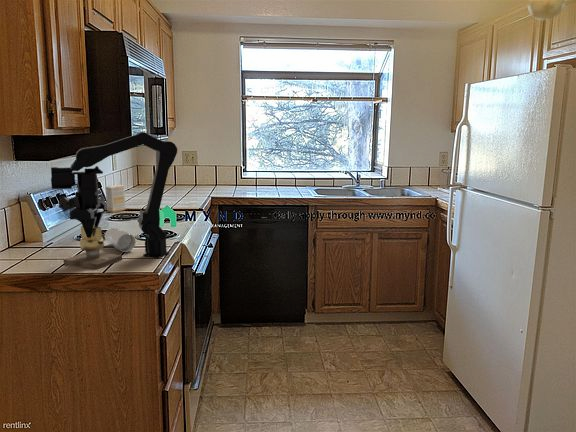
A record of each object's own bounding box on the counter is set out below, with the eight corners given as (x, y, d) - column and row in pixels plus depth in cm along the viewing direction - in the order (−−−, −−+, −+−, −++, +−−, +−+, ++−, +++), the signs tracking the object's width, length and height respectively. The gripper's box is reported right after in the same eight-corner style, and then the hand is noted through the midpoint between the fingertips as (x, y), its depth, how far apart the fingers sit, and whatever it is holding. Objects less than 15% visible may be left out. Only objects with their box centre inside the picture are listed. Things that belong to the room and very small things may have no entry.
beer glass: (124, 239, 176) (139, 246, 165) (107, 248, 173) (121, 256, 161) (117, 223, 174) (131, 229, 162) (100, 231, 170) (113, 238, 159)
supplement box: (119, 209, 246) (118, 184, 243) (126, 210, 244) (124, 185, 241) (106, 211, 239) (105, 186, 237) (113, 212, 237) (111, 187, 234)
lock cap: (75, 249, 148) (74, 227, 147) (93, 244, 155) (92, 223, 153) (93, 252, 145) (92, 230, 143) (111, 247, 151) (109, 226, 150)
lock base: (122, 259, 153) (121, 246, 152) (97, 269, 143) (96, 255, 142) (89, 255, 158) (88, 242, 158) (63, 263, 148) (62, 250, 147)
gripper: (71, 184, 154) (75, 229, 157) (49, 192, 136) (53, 243, 139) (106, 184, 156) (109, 229, 159) (88, 192, 137) (92, 243, 140)
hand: (91, 236), depth 149 cm, fingers closed on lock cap, 4 cm apart
